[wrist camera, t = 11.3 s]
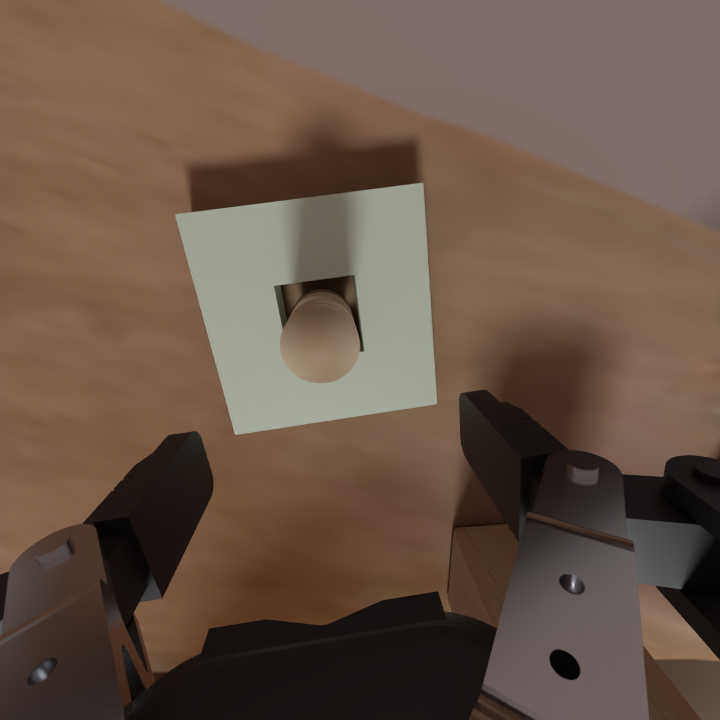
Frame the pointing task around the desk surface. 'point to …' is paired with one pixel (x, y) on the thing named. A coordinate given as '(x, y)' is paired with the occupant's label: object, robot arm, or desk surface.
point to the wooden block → (488, 591)
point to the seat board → (307, 263)
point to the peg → (320, 338)
